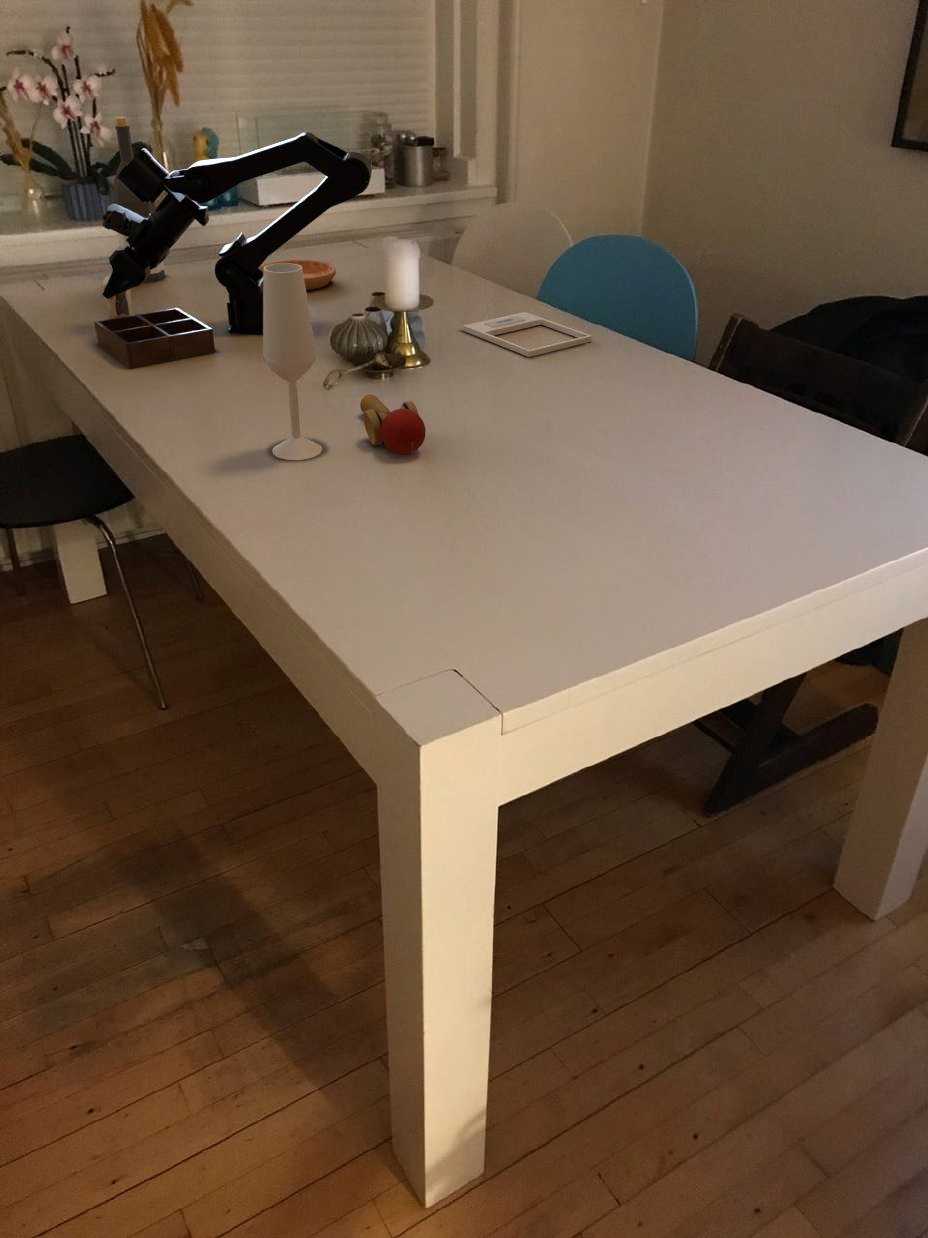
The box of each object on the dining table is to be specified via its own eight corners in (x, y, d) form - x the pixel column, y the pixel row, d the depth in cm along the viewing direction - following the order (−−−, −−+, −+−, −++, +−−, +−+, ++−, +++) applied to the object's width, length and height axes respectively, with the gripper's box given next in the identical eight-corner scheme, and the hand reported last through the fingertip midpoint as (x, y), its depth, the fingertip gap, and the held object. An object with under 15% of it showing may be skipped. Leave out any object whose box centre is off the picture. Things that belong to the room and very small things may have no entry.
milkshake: (140, 330, 183) (131, 273, 178) (108, 331, 182) (99, 273, 177) (142, 323, 187) (134, 266, 182) (112, 324, 186) (102, 267, 181)
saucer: (252, 276, 216) (251, 261, 214) (328, 271, 220) (327, 256, 218) (263, 296, 203) (262, 281, 201) (343, 290, 207) (343, 275, 205)
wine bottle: (173, 276, 215) (151, 116, 199) (144, 284, 209) (119, 121, 193) (145, 270, 218) (122, 113, 202) (116, 278, 212) (89, 117, 196)
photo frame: (525, 310, 192) (592, 334, 180) (524, 316, 193) (592, 341, 181) (463, 324, 184) (529, 350, 173) (463, 330, 185) (529, 356, 173)
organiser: (180, 330, 184) (177, 307, 182) (215, 352, 174) (212, 328, 172) (98, 344, 176) (94, 321, 174) (129, 368, 166) (125, 344, 164)
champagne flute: (267, 443, 141) (250, 263, 128) (315, 437, 143) (303, 259, 130) (277, 462, 136) (261, 276, 123) (327, 456, 138) (316, 272, 125)
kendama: (340, 427, 150) (379, 457, 135) (344, 383, 148) (383, 409, 132) (390, 429, 153) (434, 459, 138) (395, 386, 151) (439, 412, 135)
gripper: (141, 177, 180) (89, 242, 186) (112, 198, 164) (55, 268, 170) (192, 225, 184) (139, 287, 190) (168, 250, 169) (112, 317, 174)
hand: (112, 289), depth 181 cm, fingers open, 9 cm apart
